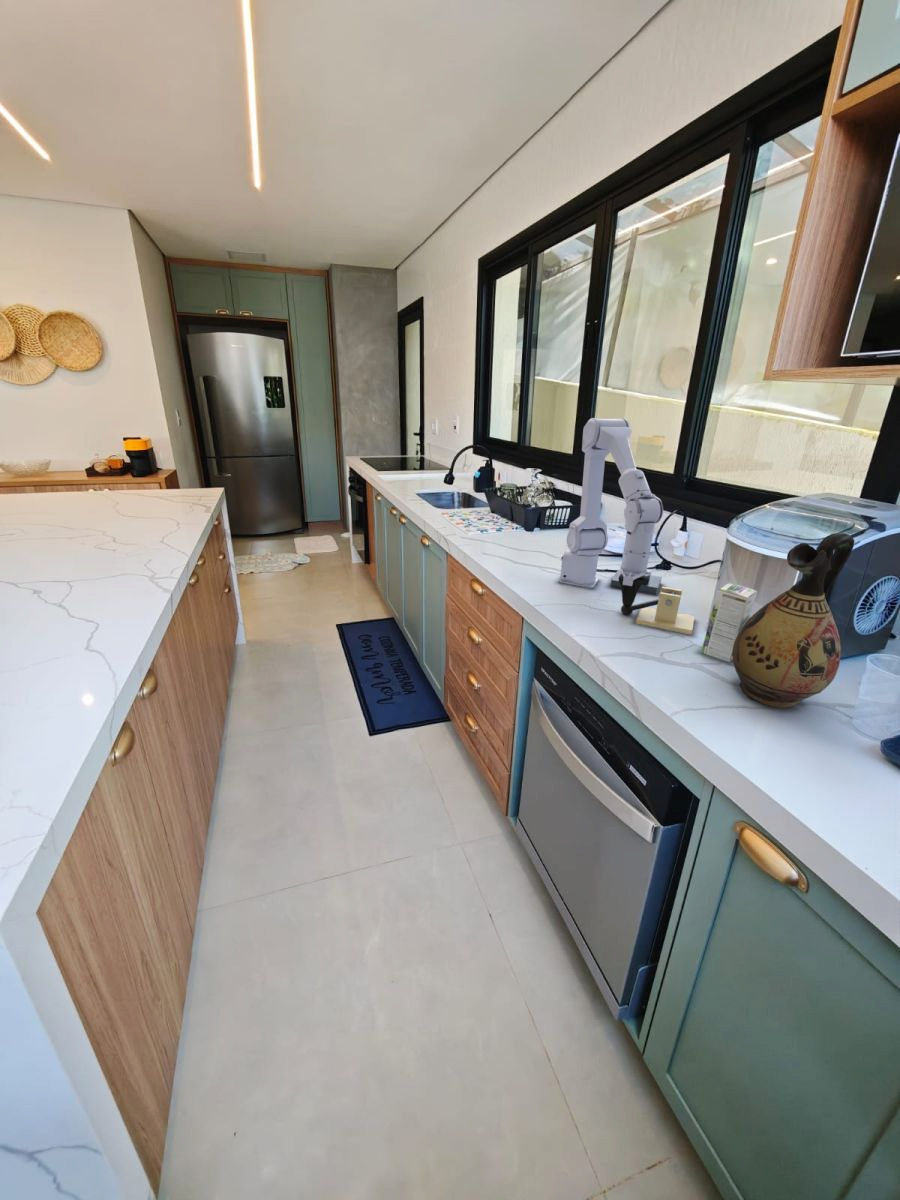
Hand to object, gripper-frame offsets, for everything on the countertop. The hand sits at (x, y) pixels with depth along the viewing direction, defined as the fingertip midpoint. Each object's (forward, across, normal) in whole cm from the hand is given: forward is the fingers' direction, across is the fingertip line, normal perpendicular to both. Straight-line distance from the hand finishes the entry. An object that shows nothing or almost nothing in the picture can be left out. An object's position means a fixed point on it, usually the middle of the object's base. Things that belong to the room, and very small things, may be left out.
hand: (627, 604), depth 121 cm
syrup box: (+3, -11, -21) cm, 24 cm away
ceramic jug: (+3, -23, -30) cm, 38 cm away
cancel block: (+3, +22, +1) cm, 22 cm away
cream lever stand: (+3, 0, -9) cm, 9 cm away
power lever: (0, 0, -5) cm, 5 cm away
